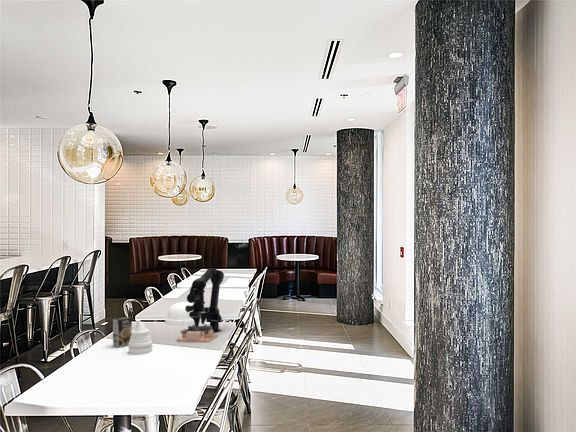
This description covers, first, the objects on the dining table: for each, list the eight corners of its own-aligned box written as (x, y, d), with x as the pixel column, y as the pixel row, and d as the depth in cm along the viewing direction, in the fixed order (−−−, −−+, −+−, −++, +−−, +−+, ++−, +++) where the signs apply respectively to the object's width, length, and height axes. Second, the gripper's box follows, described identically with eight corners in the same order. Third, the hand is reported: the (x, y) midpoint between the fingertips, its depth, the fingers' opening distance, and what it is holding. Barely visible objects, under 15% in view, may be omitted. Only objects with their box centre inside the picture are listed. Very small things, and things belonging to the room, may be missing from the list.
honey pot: (146, 354, 305) (145, 321, 305) (124, 354, 307) (123, 321, 307) (156, 349, 317) (155, 317, 317) (135, 348, 320) (134, 317, 320)
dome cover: (204, 325, 383) (203, 305, 383) (160, 326, 383) (160, 306, 383) (210, 317, 415) (209, 298, 415) (170, 318, 415) (169, 299, 415)
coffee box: (119, 347, 323) (118, 320, 323) (112, 346, 327) (112, 319, 327) (132, 344, 330) (131, 317, 330) (125, 343, 334) (125, 316, 334)
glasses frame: (189, 330, 348) (189, 323, 348) (212, 330, 344) (212, 324, 344) (182, 333, 338) (182, 326, 338) (206, 334, 334) (205, 327, 334)
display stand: (187, 335, 351) (187, 327, 351) (217, 336, 346) (217, 327, 346) (177, 341, 335) (176, 332, 335) (208, 342, 331) (207, 333, 331)
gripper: (193, 298, 356) (193, 322, 356) (180, 302, 337) (181, 328, 337) (209, 298, 353) (210, 322, 353) (198, 303, 335) (198, 329, 335)
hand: (199, 325), depth 345 cm, fingers open, 9 cm apart
